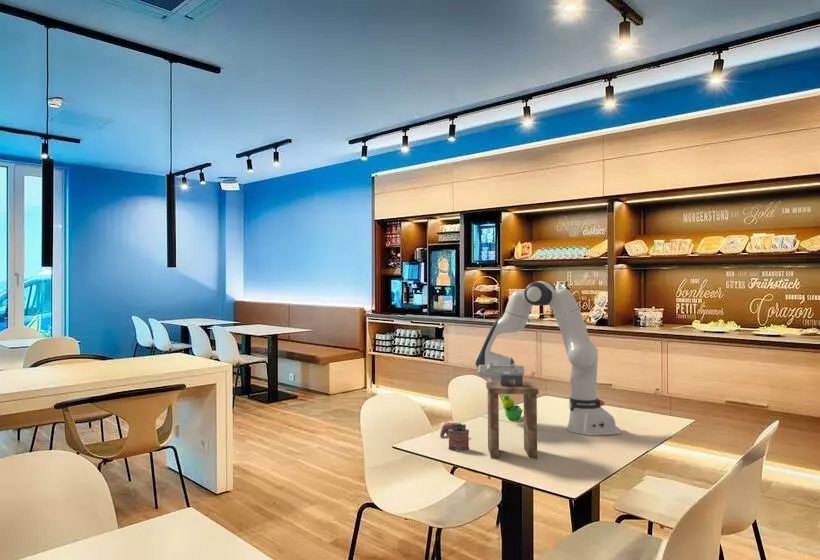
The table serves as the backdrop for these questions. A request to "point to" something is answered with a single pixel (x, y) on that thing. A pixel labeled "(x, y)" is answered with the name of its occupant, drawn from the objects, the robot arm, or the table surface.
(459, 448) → the lighter
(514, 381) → the steel t handle
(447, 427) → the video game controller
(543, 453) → the table surface
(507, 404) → the fruit basket
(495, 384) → the walnut shelf
